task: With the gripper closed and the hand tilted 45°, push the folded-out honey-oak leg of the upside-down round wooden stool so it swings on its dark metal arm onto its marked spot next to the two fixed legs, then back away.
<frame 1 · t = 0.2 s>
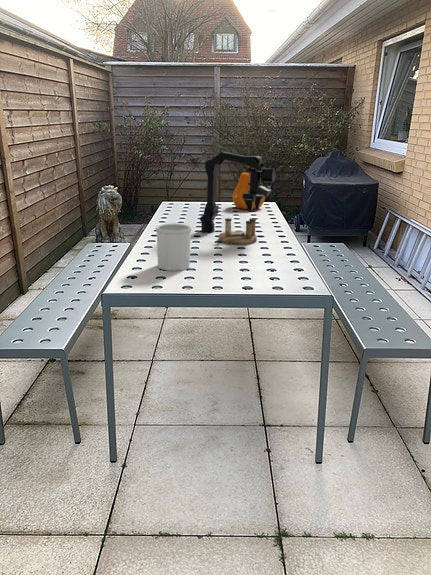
hand: (253, 210, 249), 14 cm above the table, fingers open, 9 cm apart
decorative pumpkin: (248, 208, 337), on the table
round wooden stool: (237, 240, 246), on the table
utensil holder: (174, 266, 201), on the table
hinged leg: (234, 227, 243), point 7 cm above the table, hinge at 0.0°
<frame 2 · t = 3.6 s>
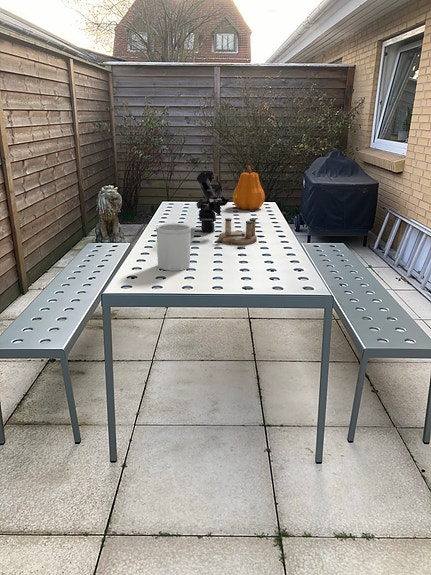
hand: (219, 214, 246), 13 cm above the table, fingers closed
nothing on the table moved.
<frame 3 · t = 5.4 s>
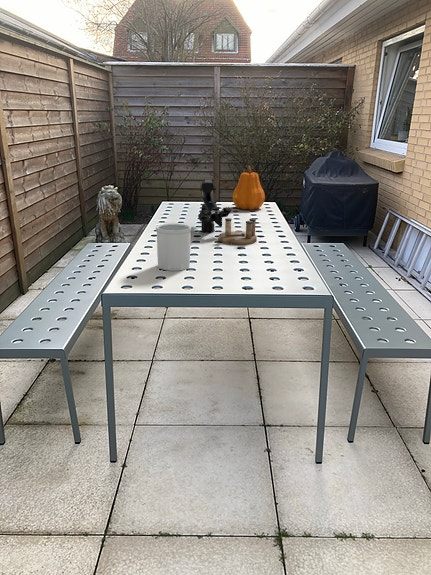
hand: (221, 226, 247), 7 cm above the table, fingers closed
nothing on the table moved.
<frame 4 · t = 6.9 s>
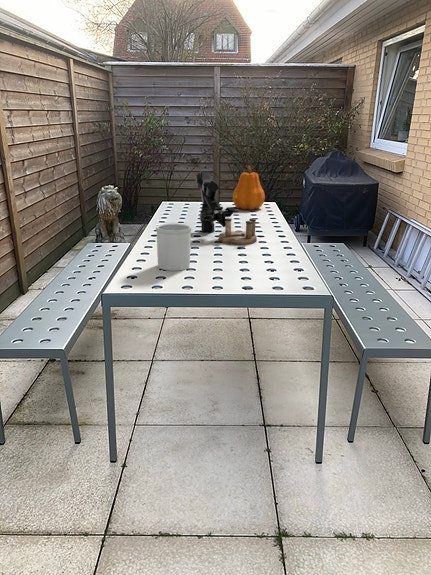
hand: (224, 226, 243), 8 cm above the table, fingers closed
hinged leg: (234, 227, 243), point 7 cm above the table, hinge at 0.4°, touching gripper
everything else where it was.
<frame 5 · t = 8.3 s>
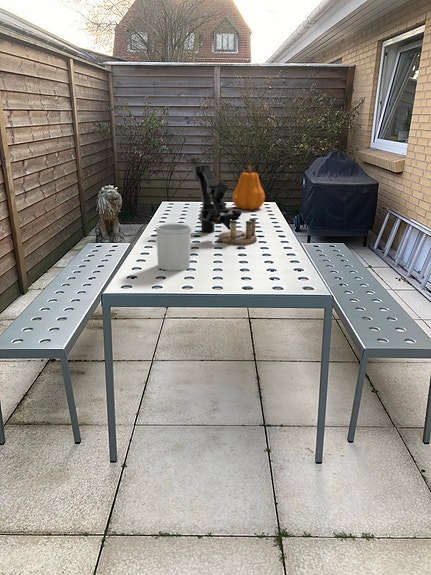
hand: (229, 229, 237), 7 cm above the table, fingers closed
hinged leg: (237, 228, 241), point 7 cm above the table, hinge at 41.6°, touching gripper
everything else where it was.
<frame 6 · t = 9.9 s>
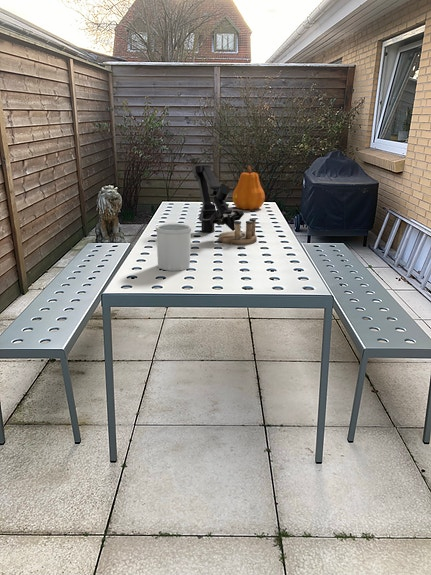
hand: (233, 230, 238), 7 cm above the table, fingers closed
hinged leg: (239, 228, 240), point 7 cm above the table, hinge at 60.1°
everything else where it was.
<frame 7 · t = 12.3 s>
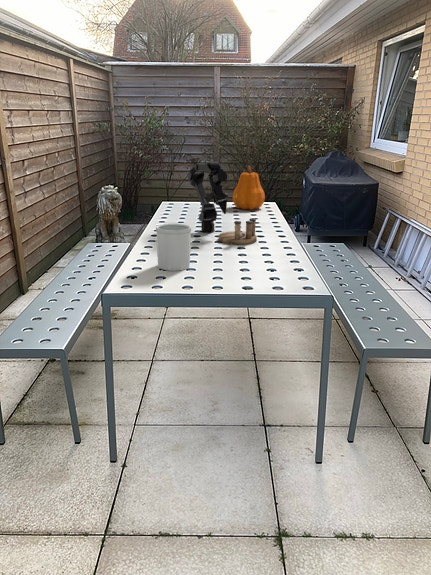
hand: (225, 213, 250), 12 cm above the table, fingers closed
nothing on the table moved.
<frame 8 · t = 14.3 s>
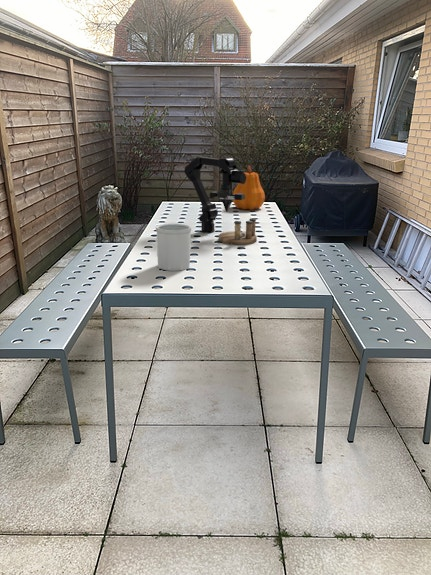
hand: (226, 211, 253), 13 cm above the table, fingers closed
nothing on the table moved.
at the end: hinged leg at +60° (first picture: +0°) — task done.
